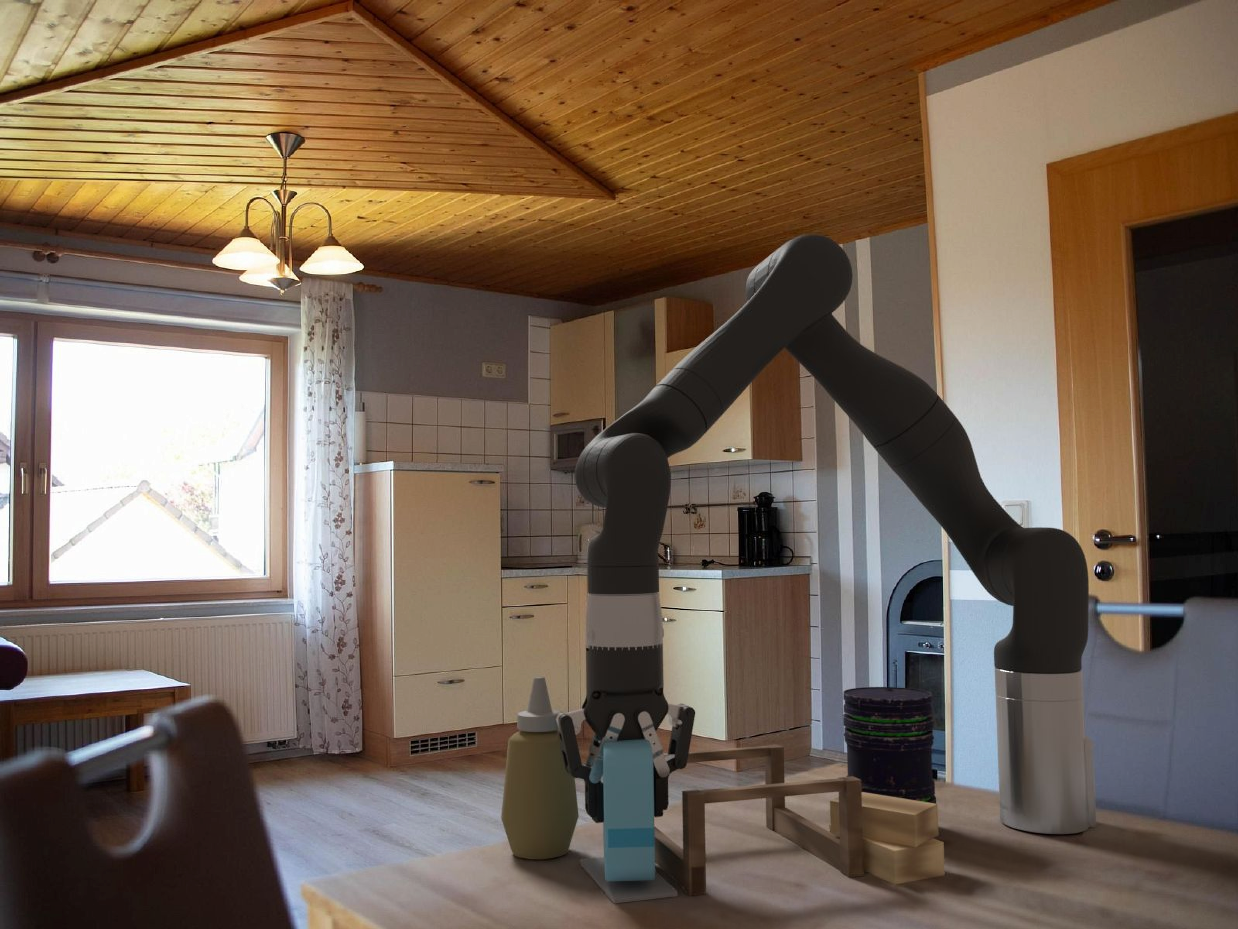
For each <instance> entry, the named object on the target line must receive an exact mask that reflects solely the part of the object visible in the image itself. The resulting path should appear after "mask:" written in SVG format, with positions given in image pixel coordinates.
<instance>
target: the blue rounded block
mask: <svg viewBox="0 0 1238 929" xmlns="http://www.w3.org/2000/svg"><path fill="white" fill-rule="evenodd" d="M601 779H602V783H603V786H604V822H603V823H602V829H603V830H602V831H603V835H602V837H603V839H602V840H603V857H604V865H605V879H606V881H645V880H654V878H655V871H656V862H655V833H654V826H655V817H654V777H653V752H652V747H651V744H650V741H649V740H645V739H636V740H623V741H616V742H613V743H605V744H604V745H603V775H602V778H601Z"/></svg>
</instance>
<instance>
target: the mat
mask: <svg viewBox="0 0 1238 929" xmlns="http://www.w3.org/2000/svg"><path fill="white" fill-rule="evenodd" d="M579 862H580V863H579V864H580V865H581V867H582V868H583V869H584V870H585V871H586V873H588V875H589V877H591V879H592V880H593V881H594V882H595V883H596V884H597V885H598V886H599V888H600V889H601V891H603V893H604V894H605V895H606V896H607V897H608V898H609V899H610V901H611V902H612V903H613V904H620V903H621V904H622V903H629V902H639V901H647V900H654V899H655V900H656V899H665V898H672V897H673V898H674V897H678V891H677V889H675V888H674V887H673V886H672V885H671V884H670V883H669V882H668V881H667V880H666V879H665V878H664V877H662V876H661V875H660V874H659V873H658V872H657V871H656V870H655V878H654V880H645V881H606V879H605V865H604V856H603V857H597V858H596V857H594V858H585V859H584V858H583V859H580V860H579Z"/></svg>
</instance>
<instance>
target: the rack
mask: <svg viewBox="0 0 1238 929" xmlns="http://www.w3.org/2000/svg"><path fill="white" fill-rule="evenodd" d="M663 754H664V757H666V756H667V755H668V752H666V753H665V752H663ZM754 758H755V759H756V758H764V771H765V772H764V776H765V780H764V781H765V784H755V785H747V786H746V785H744V786H735V787H734V786H733V787H723V788H712V789H711V788H709V789H708V788H707V789H700V790H699V789H690V790H682V791H681V792H682V794H681V796H682V797H681V802H682V804H681V805H682V806H681V807H682V808H681V809H682V847H681V846H680V845H678V844H677V843H676V842H675V841H673V839H671V838H669V836H667V835H666V834H665V833H664V832H663V831H661V830H660V829H658V827H656V826H655V825H654V833H655V864H656V865H657V866H659V867H660V868H661V869H662V870H663V871H664V872H665V873H666V874H668V875H669V876H670V877H671V878H672V879H673V881H675V882H676V883H677V884H679V886H681V887H682V888H683V891H684V892H685V893H686V894H687V895H688V896H689V897H691V896H703V895H707V868H706V866H707V865H706V864H707V863H706V862H707V861H706V859H707V858H706V856H707V854H706V851H707V850H706V808H705V807H706V804H714V803H715V804H717V803H725V802H726V803H727V802H738V801H739V802H740V801H748V800H749V801H750V800H759V799H760V800H761V799H765V820H766V821H765V824H766V828H767V829H769V830H771V831H775V832H776V833H778V834H780V835H782V836H783V837H785V838H786V839H788V840H789V841H791V842H793V843H794V844H795V845H798V846H799V847H801V848H803V849H804V850H806V851H807V852H809V853H810V854H812V855H814V856H816V857H817V858H818V859H821V860H822V861H824V862H826V863H827V864H829V865H830V866H832V867H834V868H835V869H837V870H839V871H840V873H841V874H843V875H844V876H846V877H847V878H854V877H864V876H865V875H864V874H865V871H864V862H863V826H862V791H861V780H860V779H858V778H856V777H853V776H851V777H847V776H842V777H838V778H829V779H828V778H827V779H815V780H804V781H794V782H791V781H790V782H785V747H784V746H783V745H779V744H778V743H777V744H765V745H760V746H744V747H732V748H719V749H718V748H717V749H705V750H693V751H692V750H691V751H690V750H689V754H688V760H687V764H689V763H690V764H691V763H704V762H705V763H706V762H718V761H728V760H730V761H731V760H743V759H754ZM837 792H838V797H839V826H840V837H838V836H837V835H835V834H833V833H831V832H830V830H828V829H825V828H824V827H821V826H820V825H818V824H816V823H814V822H813V821H811V820H809V819H807V818H805V817H804V816H802V815H800V814H799V813H797V812H795V811H792V810H791V809H789V808H788V807H786V797H792V796H793V797H794V796H805V795H806V796H807V795H817V794H827V793H837Z"/></svg>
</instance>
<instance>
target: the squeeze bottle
mask: <svg viewBox="0 0 1238 929" xmlns="http://www.w3.org/2000/svg"><path fill="white" fill-rule="evenodd" d="M532 680H533V681H532V685H531V688H530V695H529V700H528V703H527V708H526V709H527V710H523V711H519V712H518V713H517V714H516V716H517V717H516V722H517V724H516V726H517V729H518V730H519V731H517V732H515V733H513V735H511V736H510V737H509V738H508V741H507V752H506V763H505V764H506V765H505V770H504V771H505V772H504V783H503V784H504V785H503V794H502V802H501V803H502V804H501V816H500V818H501V822H502V826H503V828H504V832H505V834H506V838H507V840H508V844H509V847H510V851H511V852H512V855H513V856H515V857H518V858H520V859H521V858H522V859H527V860H545V859H546V860H548V859H553V858H558V857H562V856H564V855H565V854H567V853H568V851H569V849H570V846H571V843H572V840H573V835H574V832H575V829H576V826H577V823H578V821H579V816H580V813H579V807H578V795H577V788H576V778H574V777H573V776H571V774H570V773H568V772H567V771H566V770H565V766H564V762H563V757H562V752H561V747H560V743H559V738H558V733H557V729H556V724H555V719H554V717H555V715H556V713H558V712H560V711H559V710H556V709H555V710H553V709H552V705H551V700H550V699H551V698H550V696H549V691H548V687H547V682H546V678H545V677H543V676H536V677H535V676H534V677H533V679H532Z"/></svg>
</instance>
